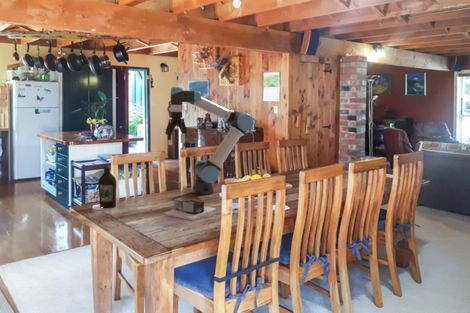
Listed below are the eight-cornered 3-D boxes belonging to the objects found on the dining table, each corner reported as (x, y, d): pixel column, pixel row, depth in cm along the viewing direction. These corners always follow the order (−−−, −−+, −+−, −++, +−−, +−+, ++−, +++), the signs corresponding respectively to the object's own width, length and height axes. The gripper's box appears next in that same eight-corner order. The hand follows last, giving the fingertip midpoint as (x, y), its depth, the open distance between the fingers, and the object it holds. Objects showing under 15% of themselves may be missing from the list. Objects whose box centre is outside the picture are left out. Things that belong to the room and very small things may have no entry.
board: (188, 205, 266) (188, 203, 266) (216, 210, 257) (216, 208, 256) (164, 214, 245) (164, 212, 245) (193, 220, 236) (193, 218, 236)
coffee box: (174, 209, 252) (193, 214, 242) (174, 199, 251) (193, 203, 241) (185, 206, 259) (204, 212, 249) (185, 196, 258) (204, 201, 248)
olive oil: (100, 204, 265) (99, 165, 261) (118, 204, 266) (117, 164, 262) (97, 209, 254) (96, 168, 251) (115, 208, 256) (114, 168, 252)
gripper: (183, 110, 287) (183, 141, 290) (159, 111, 265) (159, 145, 268) (192, 111, 283) (192, 142, 287) (169, 112, 262) (169, 146, 265)
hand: (176, 144), depth 278 cm, fingers open, 13 cm apart
